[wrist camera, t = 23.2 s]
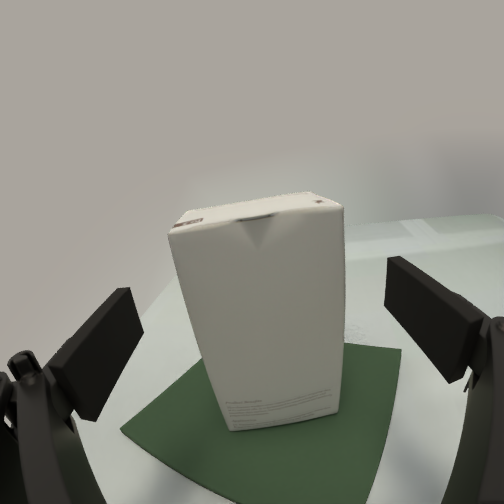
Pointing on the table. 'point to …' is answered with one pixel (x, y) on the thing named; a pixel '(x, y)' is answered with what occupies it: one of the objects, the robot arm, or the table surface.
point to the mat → (277, 438)
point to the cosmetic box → (266, 304)
